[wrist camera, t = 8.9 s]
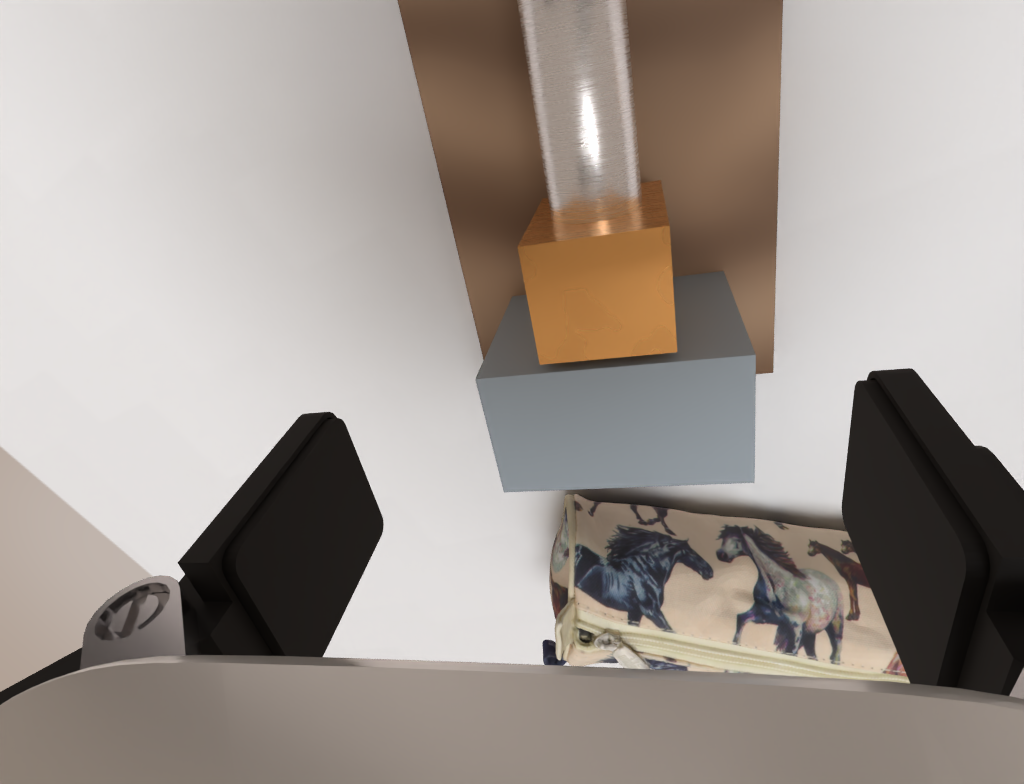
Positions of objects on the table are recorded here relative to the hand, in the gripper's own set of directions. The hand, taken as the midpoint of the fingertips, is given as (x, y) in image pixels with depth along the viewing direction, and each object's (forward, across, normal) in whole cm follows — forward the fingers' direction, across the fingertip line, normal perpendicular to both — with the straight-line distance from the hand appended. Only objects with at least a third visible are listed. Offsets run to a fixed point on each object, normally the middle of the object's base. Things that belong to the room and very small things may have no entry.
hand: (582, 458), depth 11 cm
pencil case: (+17, -6, +20) cm, 27 cm away
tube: (+14, 0, -3) cm, 15 cm away
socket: (+16, 0, +5) cm, 17 cm away
